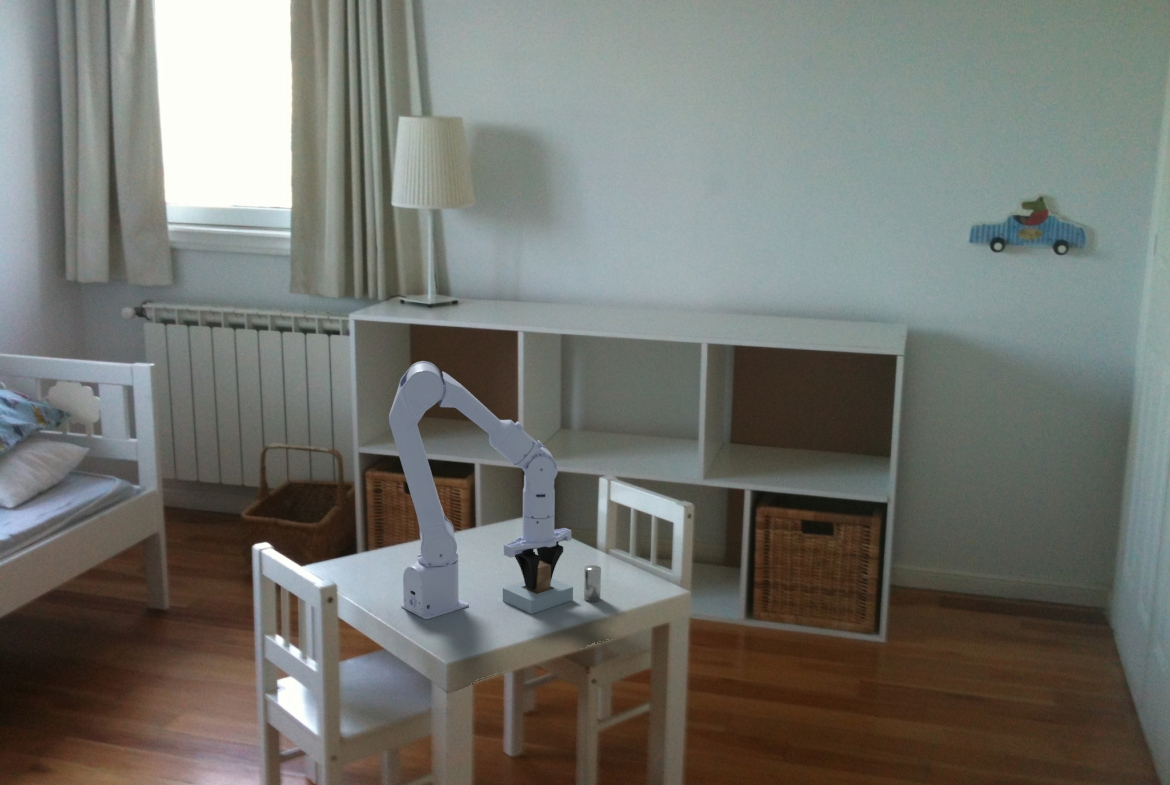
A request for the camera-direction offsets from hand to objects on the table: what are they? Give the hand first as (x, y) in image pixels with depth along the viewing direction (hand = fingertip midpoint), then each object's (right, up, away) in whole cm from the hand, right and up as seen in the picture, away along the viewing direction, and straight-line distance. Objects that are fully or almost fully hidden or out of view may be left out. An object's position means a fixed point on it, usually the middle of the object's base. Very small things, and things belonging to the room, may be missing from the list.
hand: (537, 585), depth 207 cm
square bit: (0, -2, 0) cm, 2 cm away
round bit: (+10, -3, +2) cm, 10 cm away
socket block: (0, -3, +1) cm, 3 cm away
